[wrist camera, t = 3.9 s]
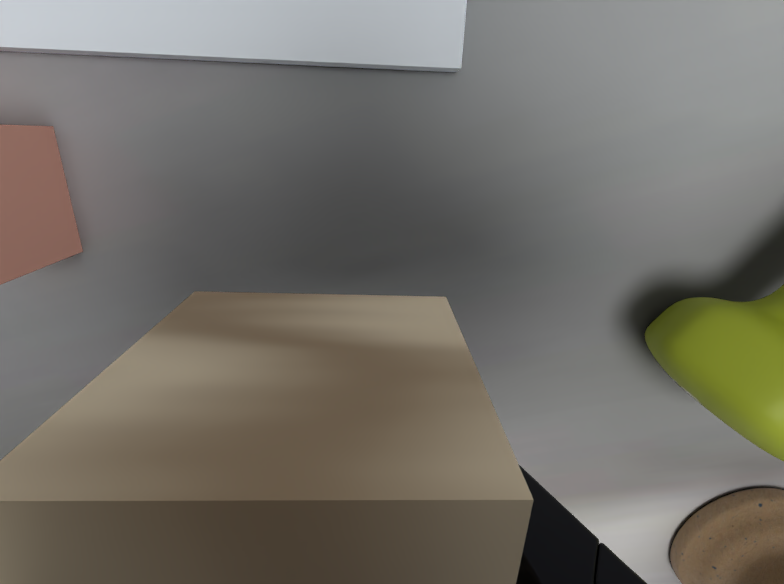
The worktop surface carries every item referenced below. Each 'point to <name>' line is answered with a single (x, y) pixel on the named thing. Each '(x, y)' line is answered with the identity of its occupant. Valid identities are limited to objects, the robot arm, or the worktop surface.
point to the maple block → (273, 454)
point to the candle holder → (733, 540)
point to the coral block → (33, 202)
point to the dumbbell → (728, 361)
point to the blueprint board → (245, 31)
